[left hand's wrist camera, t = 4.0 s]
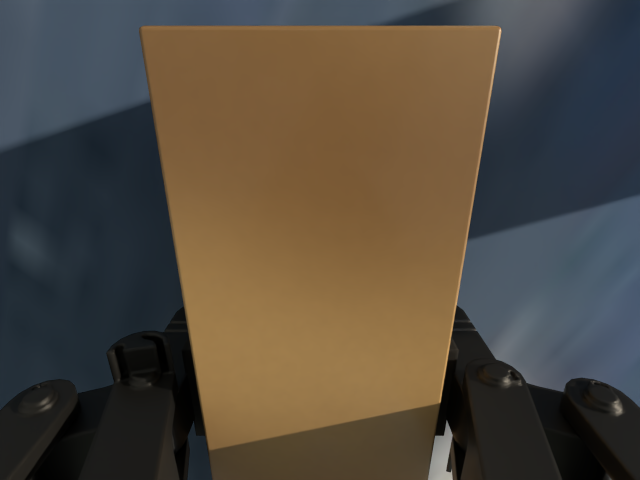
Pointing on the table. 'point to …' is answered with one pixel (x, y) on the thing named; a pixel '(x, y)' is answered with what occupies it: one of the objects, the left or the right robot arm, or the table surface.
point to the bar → (320, 233)
